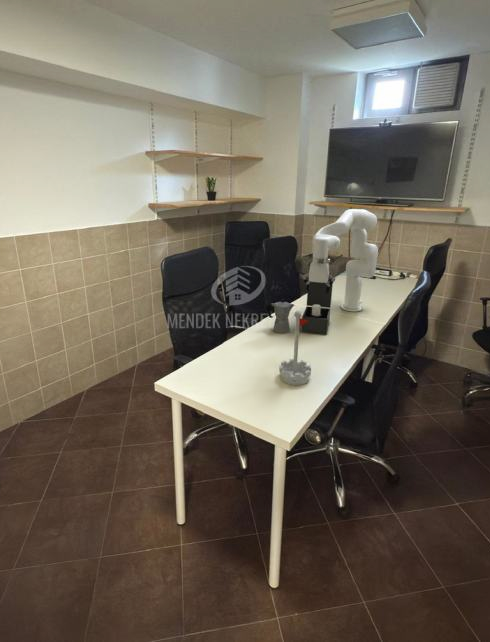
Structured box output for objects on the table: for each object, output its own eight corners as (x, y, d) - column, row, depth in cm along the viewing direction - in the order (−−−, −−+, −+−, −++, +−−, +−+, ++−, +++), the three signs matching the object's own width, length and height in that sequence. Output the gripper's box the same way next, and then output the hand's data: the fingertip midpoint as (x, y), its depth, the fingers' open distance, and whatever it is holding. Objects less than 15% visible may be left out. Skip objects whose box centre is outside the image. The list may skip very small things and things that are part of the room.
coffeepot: (291, 326, 202) (293, 296, 197) (295, 333, 193) (296, 301, 188) (264, 327, 202) (265, 296, 196) (266, 333, 193) (267, 302, 187)
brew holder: (313, 326, 202) (314, 311, 199) (322, 329, 197) (323, 314, 195) (307, 329, 198) (308, 314, 195) (316, 332, 194) (317, 317, 191)
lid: (333, 275, 201) (333, 275, 205) (308, 274, 205) (309, 273, 209) (330, 307, 203) (331, 306, 208) (306, 305, 208) (307, 304, 212)
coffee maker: (326, 334, 191) (327, 319, 188) (301, 331, 195) (302, 316, 192) (329, 322, 207) (330, 308, 204) (305, 320, 211) (306, 306, 208)
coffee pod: (315, 312, 198) (315, 303, 196) (321, 314, 195) (322, 305, 193) (310, 314, 195) (310, 305, 194) (316, 316, 192) (317, 307, 190)
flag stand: (289, 389, 141) (292, 319, 132) (273, 373, 153) (275, 308, 143) (316, 382, 146) (321, 313, 137) (299, 367, 158) (302, 303, 148)
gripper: (337, 260, 187) (334, 291, 192) (304, 258, 192) (302, 288, 197) (336, 263, 180) (333, 295, 185) (302, 261, 185) (300, 292, 190)
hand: (317, 292), depth 191 cm, fingers open, 9 cm apart
